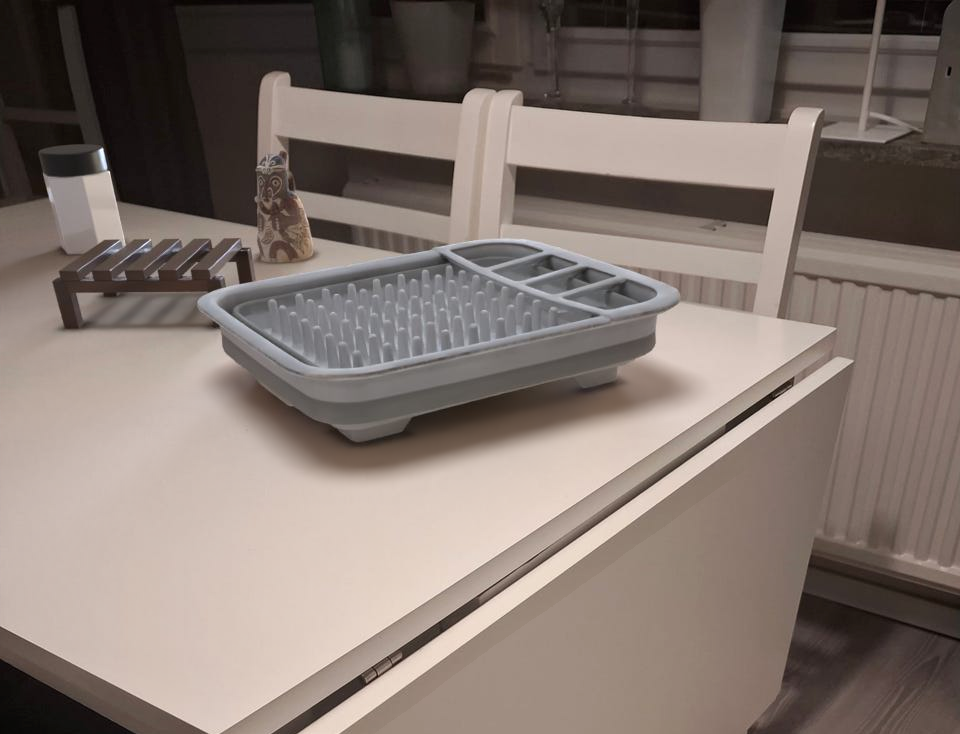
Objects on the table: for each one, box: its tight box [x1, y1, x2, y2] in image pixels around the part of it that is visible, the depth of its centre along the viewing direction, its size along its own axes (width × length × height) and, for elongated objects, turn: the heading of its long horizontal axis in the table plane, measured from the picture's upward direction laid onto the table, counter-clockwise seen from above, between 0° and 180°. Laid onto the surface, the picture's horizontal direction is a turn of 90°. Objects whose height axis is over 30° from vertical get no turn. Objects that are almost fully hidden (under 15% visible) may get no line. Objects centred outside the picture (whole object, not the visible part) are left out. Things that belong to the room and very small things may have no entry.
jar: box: [38, 143, 127, 255], centre depth 134 cm, size 9×8×12 cm
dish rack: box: [196, 238, 682, 443], centre depth 92 cm, size 32×37×8 cm
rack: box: [52, 237, 257, 330], centre depth 112 cm, size 18×14×6 cm
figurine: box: [254, 150, 314, 264], centre depth 128 cm, size 7×7×12 cm
